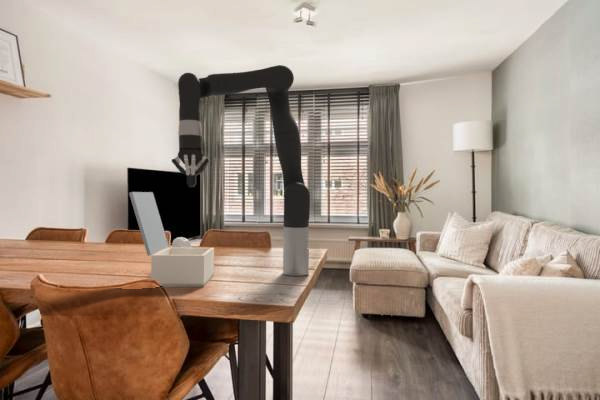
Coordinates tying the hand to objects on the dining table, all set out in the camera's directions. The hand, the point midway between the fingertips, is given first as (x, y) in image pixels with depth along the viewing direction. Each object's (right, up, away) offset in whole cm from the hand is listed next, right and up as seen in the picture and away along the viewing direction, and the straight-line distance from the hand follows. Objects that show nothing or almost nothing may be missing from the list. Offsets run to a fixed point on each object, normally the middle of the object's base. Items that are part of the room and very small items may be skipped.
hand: (191, 186), depth 120 cm
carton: (-1, -31, -3) cm, 31 cm away
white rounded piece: (-8, -31, +14) cm, 35 cm away
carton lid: (-12, -12, -3) cm, 17 cm away
